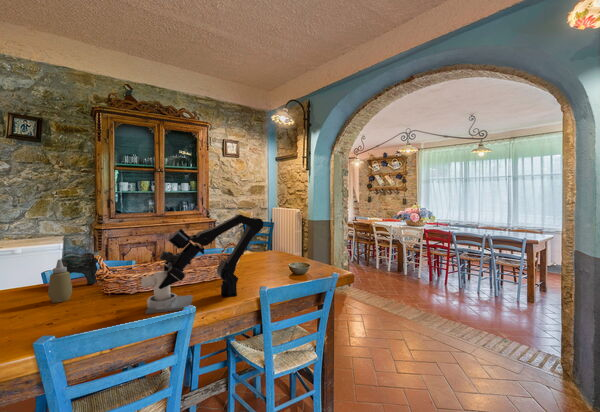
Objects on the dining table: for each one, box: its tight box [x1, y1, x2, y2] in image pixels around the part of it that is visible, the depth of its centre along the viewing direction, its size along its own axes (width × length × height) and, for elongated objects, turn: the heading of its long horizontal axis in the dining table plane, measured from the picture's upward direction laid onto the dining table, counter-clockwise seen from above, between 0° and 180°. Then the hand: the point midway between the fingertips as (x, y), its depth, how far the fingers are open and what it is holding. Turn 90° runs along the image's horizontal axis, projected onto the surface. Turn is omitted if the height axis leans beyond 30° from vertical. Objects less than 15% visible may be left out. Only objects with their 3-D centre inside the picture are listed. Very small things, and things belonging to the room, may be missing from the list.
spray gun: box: [60, 245, 102, 285], centre depth 144 cm, size 20×6×20 cm, turn 93°
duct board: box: [145, 292, 194, 315], centre depth 117 cm, size 16×14×4 cm
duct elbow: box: [140, 270, 171, 301], centre depth 114 cm, size 10×6×13 cm, turn 132°
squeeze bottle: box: [47, 258, 73, 303], centre depth 122 cm, size 8×8×18 cm
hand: (158, 285), depth 114 cm, fingers open, 8 cm apart
